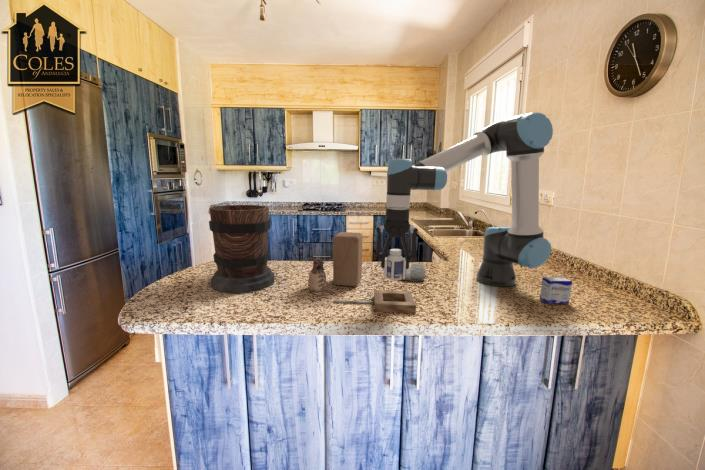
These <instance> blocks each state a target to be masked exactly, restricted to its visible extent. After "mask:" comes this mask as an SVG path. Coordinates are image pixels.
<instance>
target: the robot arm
mask: <svg viewBox="0 0 705 470" xmlns="http://www.w3.org/2000/svg"><path fill="white" fill-rule="evenodd" d="M553 131H554V128H553V124H552V121H551V120H550V118H549V117H547V116H546V115H545V114H544V113H541V112H540V111H539V112H538V111H537V112H535V111H534V112H526V113H523V114H519V115H514V116H509V117H504V118H501V119H499V120H497V121H495V122H493V123H491V124H489V125H488V126H486V127H484V128H482V129H480V130H478V131H476V132H474V133H473V136H471V137H470V138H467V139H465V140H463V141H461V142H459V143H456V144H454V145H453V146H450V147H448V148H445V149H444V150H442V151H440V152H438V153H436V154H433V155H431V156H429V157H427V158H425V159H423V160H421V161H418V162H417V163H414V164H413V161H412V159H411V158H392V159H389V160H388V165H387V172H386V176H387V177H386V179H387V180H386V198H385V199H386V202H385V207H386V209H385V222H384V223H383V225H380V226H379V225H377V226H376V227H375V230H376V233H377V234H376V236H377V237H376V247H375V250H376V251H375V256H376V257H378V258H380V267H381V269H383V278H384V279H387V257H388V256H387V253H388V252H389V251H388V250H389V247H390V244H391V242H392V240H393V238H396V237H397V238H400V240H401V245H402V248H403V253H404V257H403V276H402V278H403V279H405V271H406V269H408V268H409V263H410V261H411V260H412V259H415V258H416V248H417V247H416V245H417V242H416V241H417V240H416V239H417V234H418V231H419V229H418V227H415V226H411V225H410V210H409V208H410V207H411V206H410V205H411V190H413V191H414V190H418V191H441V190H443V189H444V188H445V187H446V185H447V182H448V174H447V172H449V171H451V170H453V169H455V168H457V167H460V166H462V165H463V164H465V163H467V162H470V161H472V160H474V159H476V158H478V157H481V156H483V157H486V156H488V155H490V154H493V153H498V152H505V153H506V158H508V159H509V161H510V162H511V163H510V164H511V166H510V167H511V171H510V172H511V175H510V176H511V226H490V227H489V226H488V227H487V228H485V233H484V237H483V251H482V252H483V253H482V261H481V264H480V265H479V268H478V271H477V273H476V280H477V281H479V282H480V283H482V284H485V285H489V286H495V287H504V288H505V287H513V286H515V285H516V284H517V283H516V282H517V277H516V272H515V268H514V265H515V264H516V265H518V266H520V267H523V268H528V269H536V268H537V269H538V268H539V267H542V266H543V265H544V264H545V263H546V261H548V259H549V258H550V255H551V252H552V245H551V242H549V240H548V239H547V238H545V237H544V229H543V228H542V227H541V226H540V225H539V224H540V223H539V221H540V220H539V215H540V210H539V209H540V206H539V205H540V199H539V198H540V197H539V196H540V195H539V194H540V186H539V185H540V157H542V156H543V154H544V153H545V147H546V146H548V145H549V143H550V142H551V140H552V138H553V135H554V132H553ZM384 230H385V231H386V232H387V237H386V240H385V243H384V246H383V249H382V251H381V245H382V244H381V243H382V233H383V232H384ZM408 231H409V233H410V253H409V248H408V244H407V241H406V240H407V239H406V234H407V233H408ZM403 279H402V280H403Z"/></svg>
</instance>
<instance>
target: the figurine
mask: <svg viewBox="0 0 705 470" xmlns="http://www.w3.org/2000/svg"><path fill="white" fill-rule="evenodd" d="M312 263H313V264H312V269H311V270H310V272H309V273H308V274H309V275H308V283H307V288H308V290H309V291H311V292H316V293H317V292H324V291H326V290H327V289H328V283H327V275H326V272H325V269H326V268H324V260H322V258H320V257H319V258H318V257H316V258H314V259H313V261H312Z"/></svg>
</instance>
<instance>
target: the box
mask: <svg viewBox="0 0 705 470" xmlns="http://www.w3.org/2000/svg"><path fill="white" fill-rule="evenodd" d="M572 285H573V281H572V280H570V279H568V278H566V277H561V276H555V277H550V276H549V277H547V276H544V277H542V279H541V288H540V294H539V295H540V296H539V300H540V301H541V302H543V303H545V304H547V305H569V304H570V298H571V292H572V287H573V286H572Z"/></svg>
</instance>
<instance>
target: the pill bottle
mask: <svg viewBox="0 0 705 470" xmlns="http://www.w3.org/2000/svg"><path fill="white" fill-rule="evenodd" d="M402 251H403V250H402V249H400V248H391V249H389V251H388V252H389V255H388V256H386V257H387V278H386V279H387V280H389V281H401V280H403V279H402V276H403V258H404V257H403V255H402V254H403V253H402Z"/></svg>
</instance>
